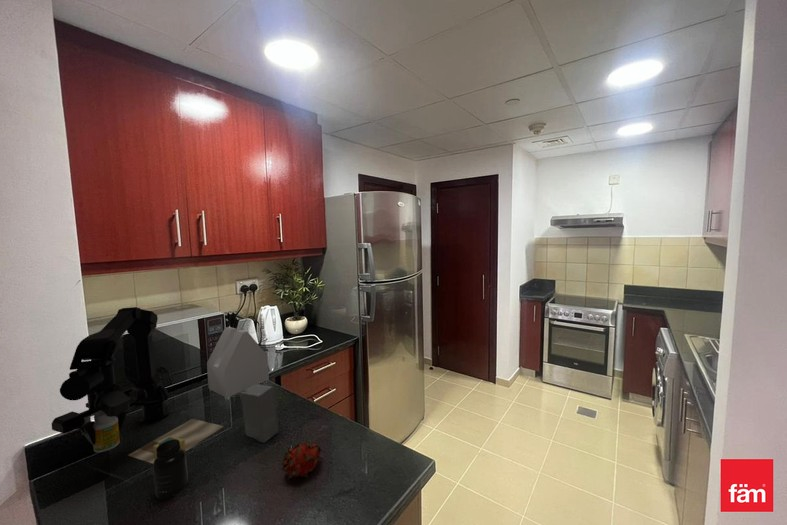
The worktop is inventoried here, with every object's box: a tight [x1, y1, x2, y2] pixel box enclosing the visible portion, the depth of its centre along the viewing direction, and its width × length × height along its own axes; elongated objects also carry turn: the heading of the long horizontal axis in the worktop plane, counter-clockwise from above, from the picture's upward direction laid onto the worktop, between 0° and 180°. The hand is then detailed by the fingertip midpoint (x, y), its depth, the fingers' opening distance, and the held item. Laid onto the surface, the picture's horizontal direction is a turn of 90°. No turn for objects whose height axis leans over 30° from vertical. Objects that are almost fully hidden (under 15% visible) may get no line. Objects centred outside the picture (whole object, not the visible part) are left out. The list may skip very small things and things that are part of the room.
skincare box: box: [239, 384, 280, 444], centre depth 100 cm, size 8×7×16 cm
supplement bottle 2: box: [152, 439, 189, 501], centre depth 79 cm, size 7×7×12 cm
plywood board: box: [127, 418, 224, 465], centre depth 98 cm, size 21×20×1 cm
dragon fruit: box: [281, 441, 322, 479], centre depth 84 cm, size 8×8×12 cm
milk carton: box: [206, 326, 270, 399], centre depth 139 cm, size 19×15×25 cm
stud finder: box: [153, 436, 185, 457], centre depth 92 cm, size 6×5×4 cm
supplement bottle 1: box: [92, 412, 121, 453], centre depth 86 cm, size 5×5×10 cm
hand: (106, 437), depth 86 cm, fingers closed on supplement bottle 1, 5 cm apart
